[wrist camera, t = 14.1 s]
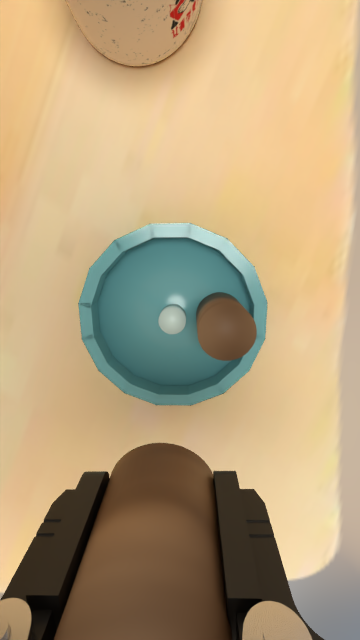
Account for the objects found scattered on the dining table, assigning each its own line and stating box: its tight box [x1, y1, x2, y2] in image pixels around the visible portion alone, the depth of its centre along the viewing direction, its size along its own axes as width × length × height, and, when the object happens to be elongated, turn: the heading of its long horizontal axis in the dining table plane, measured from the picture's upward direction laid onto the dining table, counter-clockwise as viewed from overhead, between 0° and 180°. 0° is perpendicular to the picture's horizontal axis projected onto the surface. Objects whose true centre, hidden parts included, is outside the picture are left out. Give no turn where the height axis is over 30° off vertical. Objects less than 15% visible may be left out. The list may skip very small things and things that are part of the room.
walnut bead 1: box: [54, 443, 232, 640], centre depth 7 cm, size 4×4×5 cm
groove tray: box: [78, 223, 267, 406], centre depth 22 cm, size 14×14×2 cm
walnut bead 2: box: [196, 292, 257, 361], centre depth 20 cm, size 4×4×5 cm
